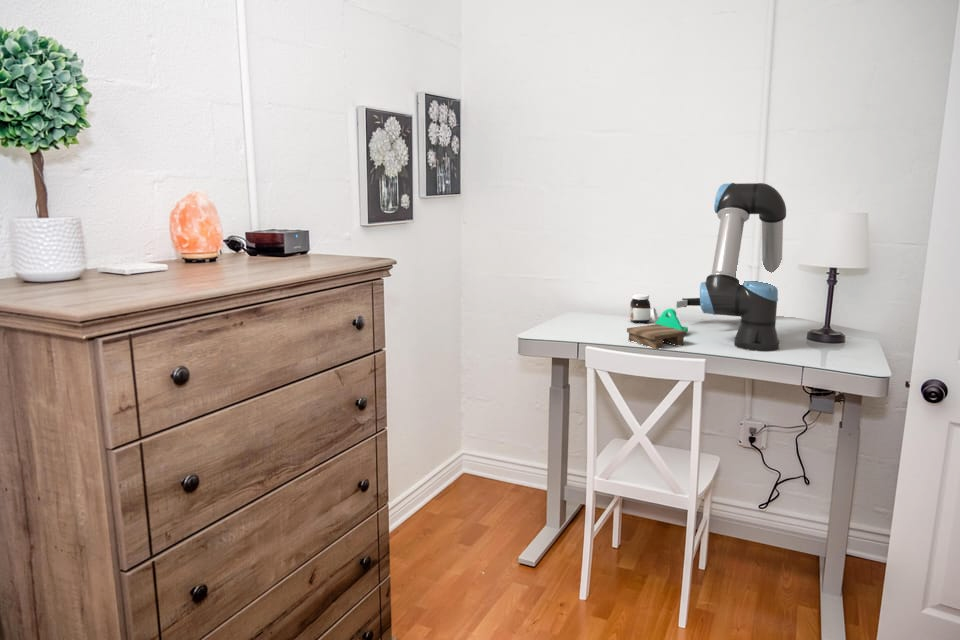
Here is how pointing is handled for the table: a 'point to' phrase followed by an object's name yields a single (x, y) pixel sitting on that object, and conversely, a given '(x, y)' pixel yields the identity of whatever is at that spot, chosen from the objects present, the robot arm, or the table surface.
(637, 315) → the spread jar
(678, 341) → the walnut stand
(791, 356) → the table surface
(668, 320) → the camera mount
